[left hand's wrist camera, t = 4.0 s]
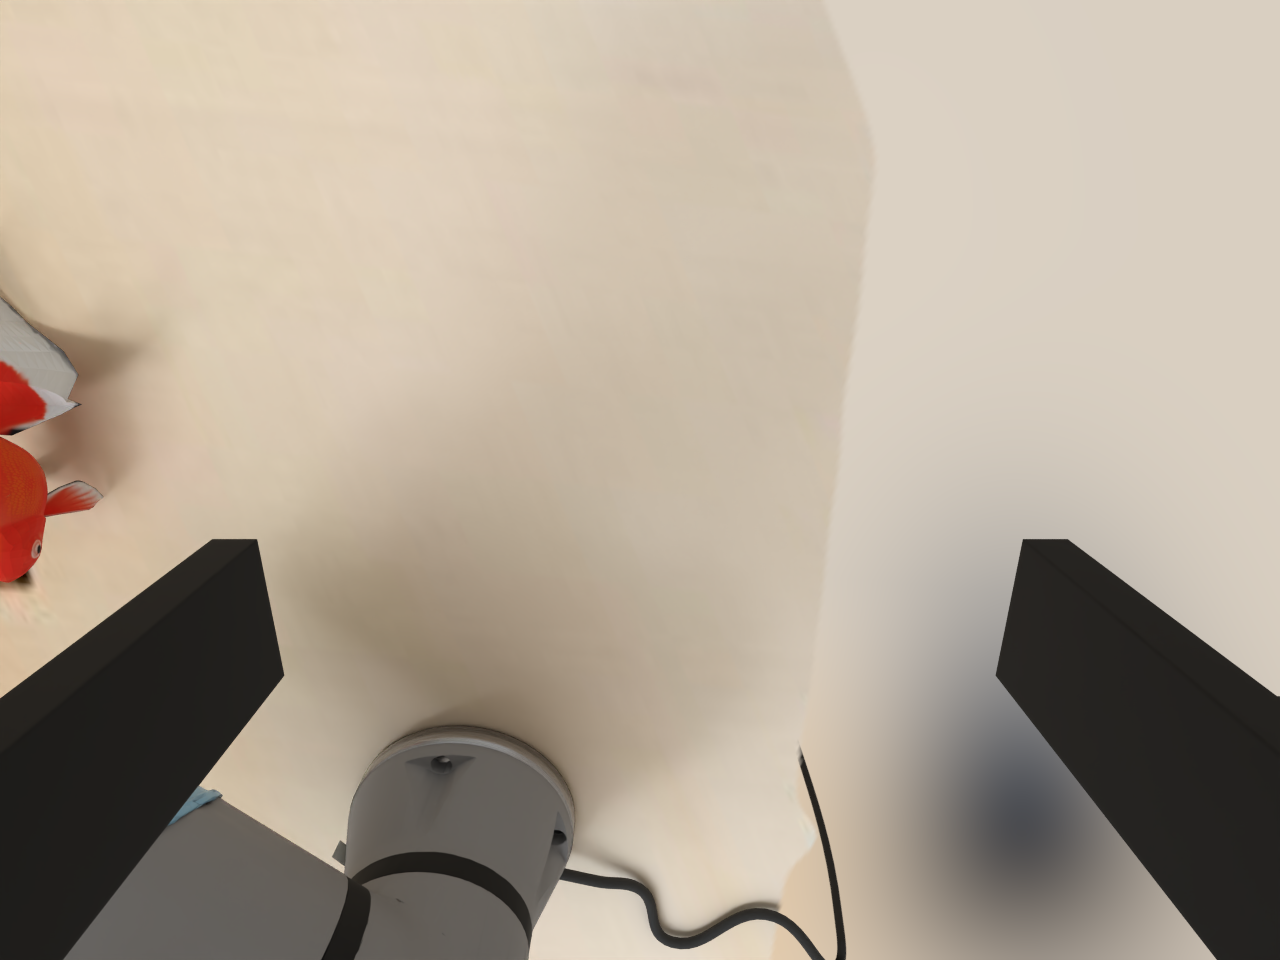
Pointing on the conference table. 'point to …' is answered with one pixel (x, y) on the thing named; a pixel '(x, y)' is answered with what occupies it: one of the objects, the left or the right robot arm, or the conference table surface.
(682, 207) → the conference table surface
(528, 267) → the conference table surface
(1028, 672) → the left robot arm
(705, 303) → the conference table surface
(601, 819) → the conference table surface
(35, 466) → the fish
